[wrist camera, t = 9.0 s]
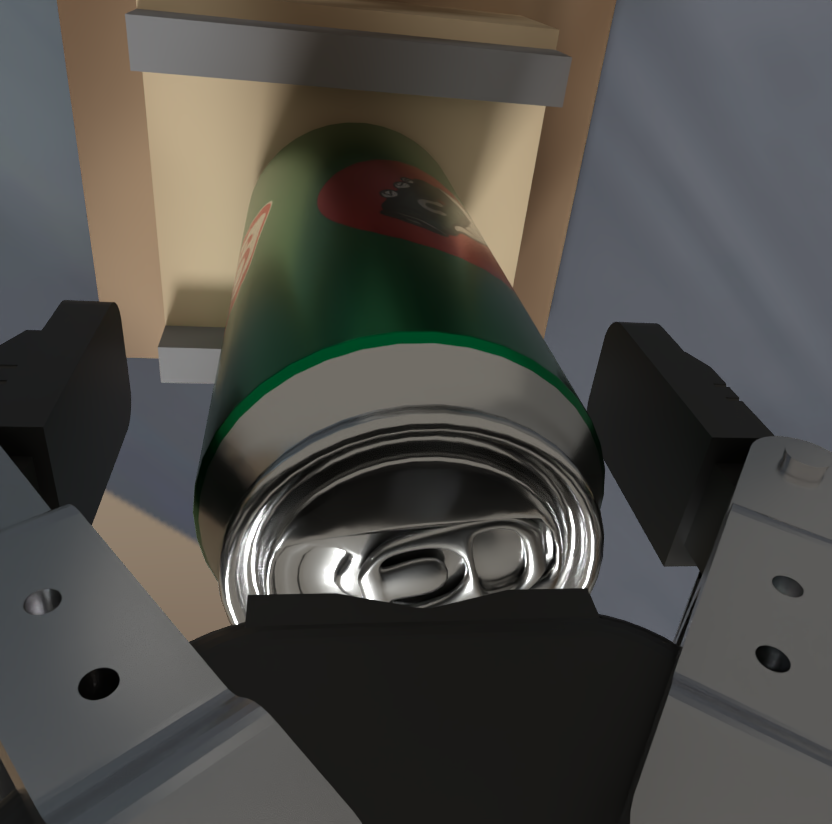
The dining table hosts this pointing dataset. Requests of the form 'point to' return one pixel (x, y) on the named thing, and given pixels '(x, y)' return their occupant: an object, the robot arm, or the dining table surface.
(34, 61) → the dining table surface
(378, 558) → the soda can
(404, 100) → the display stand
